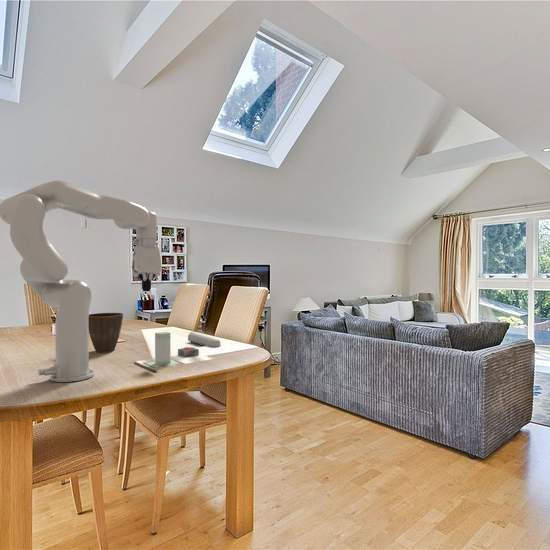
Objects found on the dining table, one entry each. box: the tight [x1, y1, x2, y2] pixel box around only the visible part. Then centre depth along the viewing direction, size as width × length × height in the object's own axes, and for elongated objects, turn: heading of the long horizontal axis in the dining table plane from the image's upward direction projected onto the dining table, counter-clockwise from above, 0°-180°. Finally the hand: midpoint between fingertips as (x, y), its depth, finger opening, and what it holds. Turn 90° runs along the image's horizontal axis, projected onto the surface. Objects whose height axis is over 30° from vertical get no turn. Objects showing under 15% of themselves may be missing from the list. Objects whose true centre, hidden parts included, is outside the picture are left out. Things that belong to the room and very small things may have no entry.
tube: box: [187, 331, 221, 348], centre depth 182 cm, size 5×5×25 cm
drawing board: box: [133, 346, 215, 374], centre depth 146 cm, size 25×17×4 cm
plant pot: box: [88, 312, 124, 354], centre depth 169 cm, size 15×15×16 cm
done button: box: [183, 346, 193, 350], centre depth 155 cm, size 3×3×2 cm
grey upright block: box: [154, 331, 171, 365], centre depth 140 cm, size 4×4×11 cm
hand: (146, 291), depth 150 cm, fingers closed
